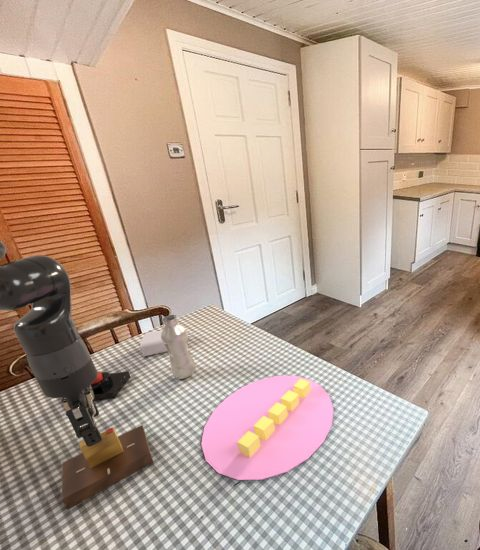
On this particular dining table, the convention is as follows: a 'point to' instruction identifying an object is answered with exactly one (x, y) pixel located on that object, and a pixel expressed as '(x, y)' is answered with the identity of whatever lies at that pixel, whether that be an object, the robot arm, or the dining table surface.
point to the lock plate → (105, 468)
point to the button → (98, 377)
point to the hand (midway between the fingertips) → (94, 429)
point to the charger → (154, 343)
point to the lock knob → (102, 448)
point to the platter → (267, 427)
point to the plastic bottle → (177, 347)
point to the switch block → (109, 385)
